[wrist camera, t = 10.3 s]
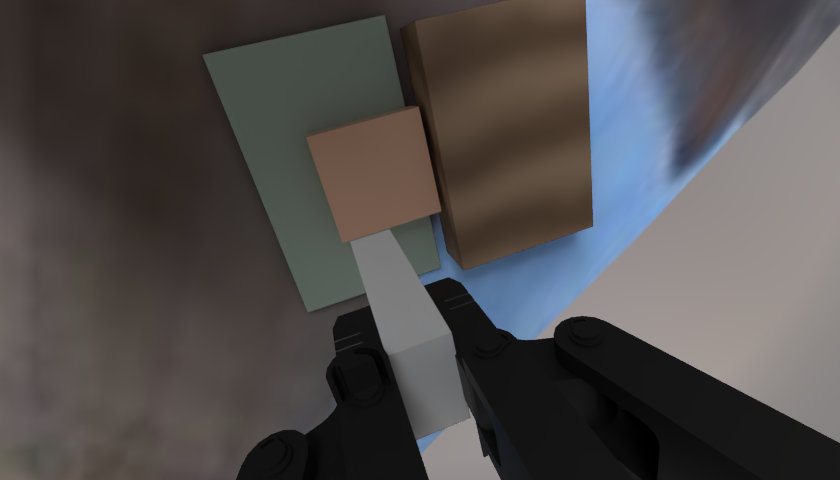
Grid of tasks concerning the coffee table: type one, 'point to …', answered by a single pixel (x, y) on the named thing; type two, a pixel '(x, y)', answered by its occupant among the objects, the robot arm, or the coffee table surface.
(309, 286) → the sage mat
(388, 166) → the terracotta tile
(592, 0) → the coffee table surface
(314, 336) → the coffee table surface
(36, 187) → the coffee table surface
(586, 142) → the block
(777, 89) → the coffee table surface
